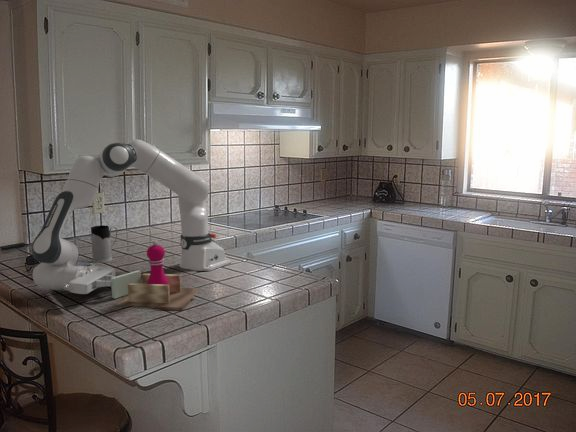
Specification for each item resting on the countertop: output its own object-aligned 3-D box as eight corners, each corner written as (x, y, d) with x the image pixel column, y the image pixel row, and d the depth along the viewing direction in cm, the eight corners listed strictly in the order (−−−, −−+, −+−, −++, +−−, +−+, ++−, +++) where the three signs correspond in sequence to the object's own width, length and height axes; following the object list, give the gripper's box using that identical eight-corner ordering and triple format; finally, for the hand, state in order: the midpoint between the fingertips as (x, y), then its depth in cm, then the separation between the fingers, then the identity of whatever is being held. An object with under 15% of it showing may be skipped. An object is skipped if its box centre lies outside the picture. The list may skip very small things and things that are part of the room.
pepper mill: (171, 293, 186) (168, 238, 182) (166, 300, 179) (163, 243, 175) (150, 294, 186) (147, 238, 182) (145, 301, 179) (141, 243, 175)
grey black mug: (87, 261, 234) (84, 228, 231) (111, 253, 247) (109, 222, 244) (101, 263, 230) (99, 229, 227) (125, 255, 242) (123, 223, 240)
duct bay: (113, 307, 176) (111, 287, 174) (138, 288, 195) (136, 270, 194) (182, 310, 172) (181, 289, 171) (201, 290, 192) (200, 272, 190)
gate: (112, 297, 182) (110, 278, 180) (139, 288, 191) (138, 270, 189) (114, 298, 181) (113, 278, 179) (142, 289, 190) (140, 270, 189)
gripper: (59, 278, 175) (97, 281, 172) (93, 262, 194) (128, 265, 192) (60, 297, 176) (99, 300, 173) (94, 279, 196) (128, 281, 193)
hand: (114, 281), depth 183 cm, fingers open, 3 cm apart
